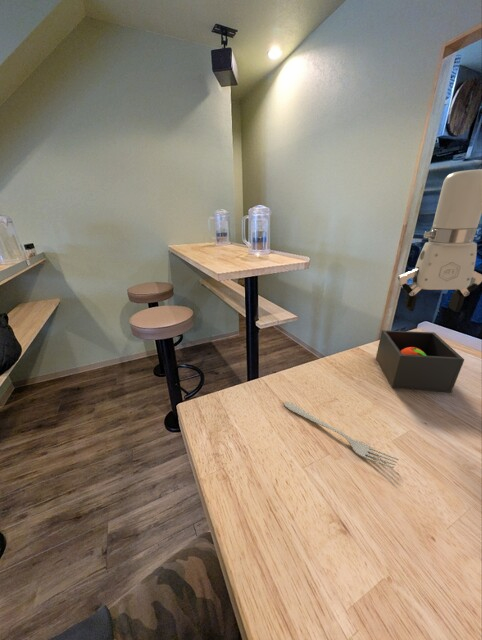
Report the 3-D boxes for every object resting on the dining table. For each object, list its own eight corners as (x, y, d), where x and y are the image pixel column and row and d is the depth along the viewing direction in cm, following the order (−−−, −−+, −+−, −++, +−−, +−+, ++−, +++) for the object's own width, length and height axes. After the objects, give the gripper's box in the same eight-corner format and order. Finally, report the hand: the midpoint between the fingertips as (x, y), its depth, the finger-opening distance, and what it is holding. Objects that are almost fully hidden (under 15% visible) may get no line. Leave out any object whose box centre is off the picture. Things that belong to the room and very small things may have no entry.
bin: (424, 361, 74) (434, 332, 70) (451, 392, 62) (464, 359, 58) (375, 358, 77) (381, 330, 72) (391, 388, 64) (400, 355, 60)
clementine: (433, 375, 67) (441, 352, 64) (418, 383, 64) (425, 360, 61) (404, 360, 74) (410, 339, 71) (388, 367, 71) (394, 346, 68)
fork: (288, 399, 62) (288, 394, 61) (397, 464, 46) (399, 457, 45) (280, 406, 60) (280, 401, 59) (391, 476, 44) (393, 469, 43)
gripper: (414, 240, 52) (398, 315, 59) (512, 237, 49) (482, 316, 56) (400, 235, 59) (387, 303, 66) (485, 232, 56) (461, 304, 63)
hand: (430, 309), depth 61 cm, fingers open, 9 cm apart
